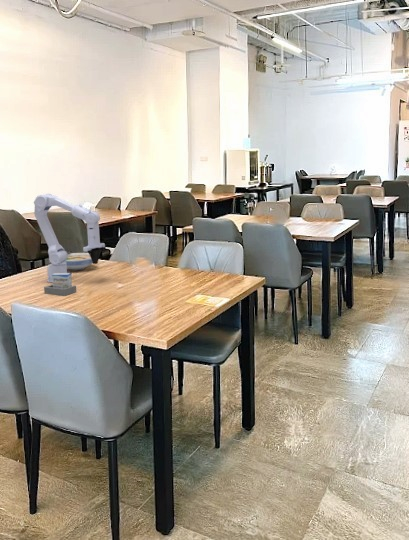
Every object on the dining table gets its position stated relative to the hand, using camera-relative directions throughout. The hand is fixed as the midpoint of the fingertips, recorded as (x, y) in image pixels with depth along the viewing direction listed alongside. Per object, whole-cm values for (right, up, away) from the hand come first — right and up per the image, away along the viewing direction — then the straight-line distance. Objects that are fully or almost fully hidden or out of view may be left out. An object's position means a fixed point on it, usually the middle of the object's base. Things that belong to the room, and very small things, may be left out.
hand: (95, 263), depth 262 cm
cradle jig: (-12, -14, -18) cm, 26 cm away
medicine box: (-12, -14, -16) cm, 24 cm away
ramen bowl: (-17, -3, +34) cm, 38 cm away
